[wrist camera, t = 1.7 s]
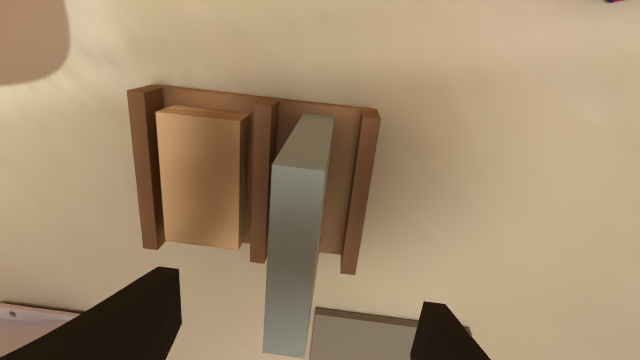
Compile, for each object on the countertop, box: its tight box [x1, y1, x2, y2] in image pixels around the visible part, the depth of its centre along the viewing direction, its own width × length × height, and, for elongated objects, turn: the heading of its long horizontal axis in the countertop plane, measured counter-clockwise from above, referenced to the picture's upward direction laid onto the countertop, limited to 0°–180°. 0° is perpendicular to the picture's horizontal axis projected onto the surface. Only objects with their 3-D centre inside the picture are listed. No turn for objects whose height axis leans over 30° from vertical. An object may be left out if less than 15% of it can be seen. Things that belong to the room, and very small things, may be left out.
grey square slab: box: [263, 113, 335, 358], centre depth 16 cm, size 2×8×8 cm, turn 174°
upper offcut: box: [156, 108, 246, 250], centre depth 18 cm, size 4×7×1 cm, turn 174°
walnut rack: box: [127, 85, 381, 275], centre depth 19 cm, size 12×9×2 cm
